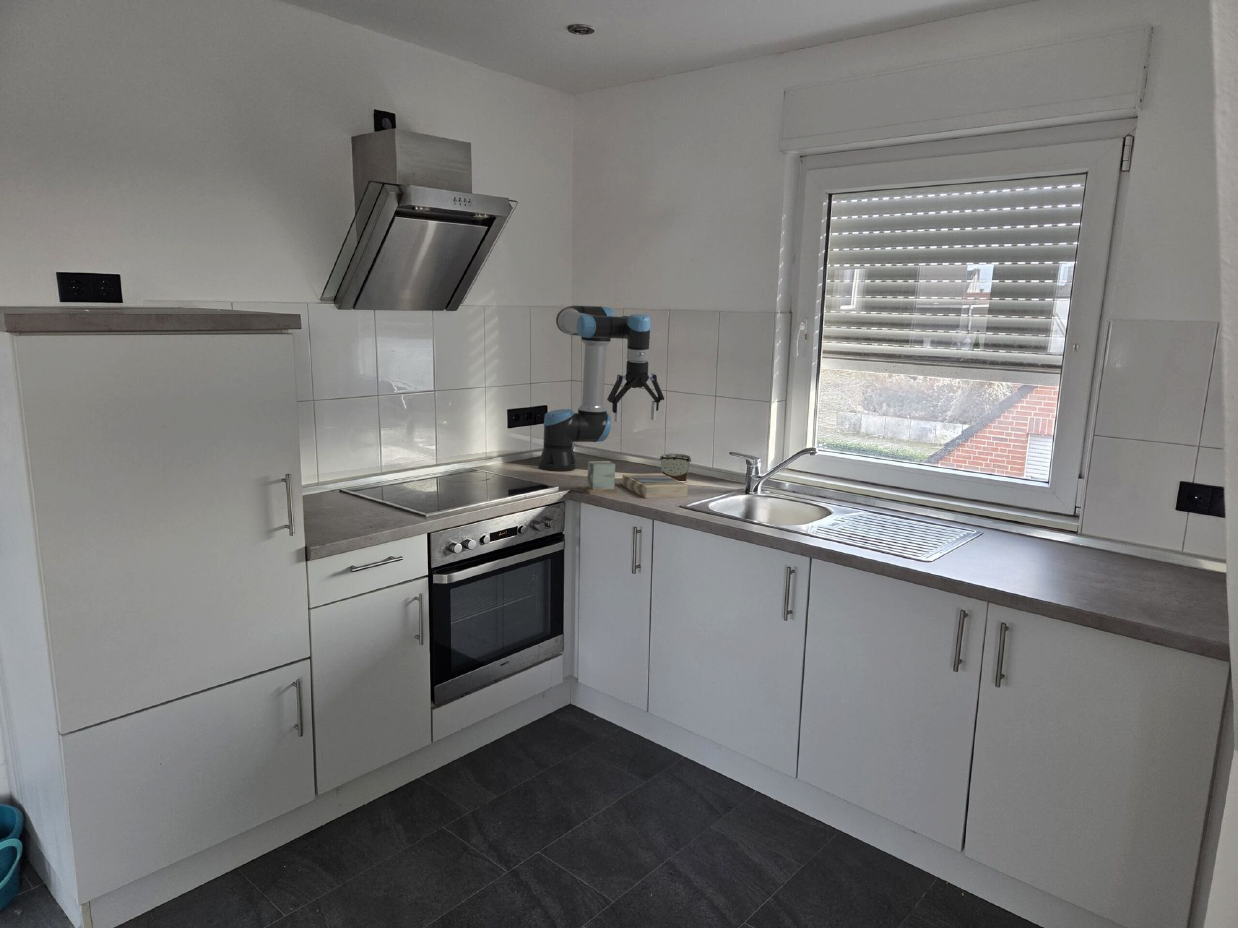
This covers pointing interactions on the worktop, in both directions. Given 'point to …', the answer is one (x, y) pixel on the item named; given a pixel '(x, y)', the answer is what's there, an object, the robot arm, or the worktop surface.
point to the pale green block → (600, 477)
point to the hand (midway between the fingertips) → (635, 420)
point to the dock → (654, 485)
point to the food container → (675, 466)
